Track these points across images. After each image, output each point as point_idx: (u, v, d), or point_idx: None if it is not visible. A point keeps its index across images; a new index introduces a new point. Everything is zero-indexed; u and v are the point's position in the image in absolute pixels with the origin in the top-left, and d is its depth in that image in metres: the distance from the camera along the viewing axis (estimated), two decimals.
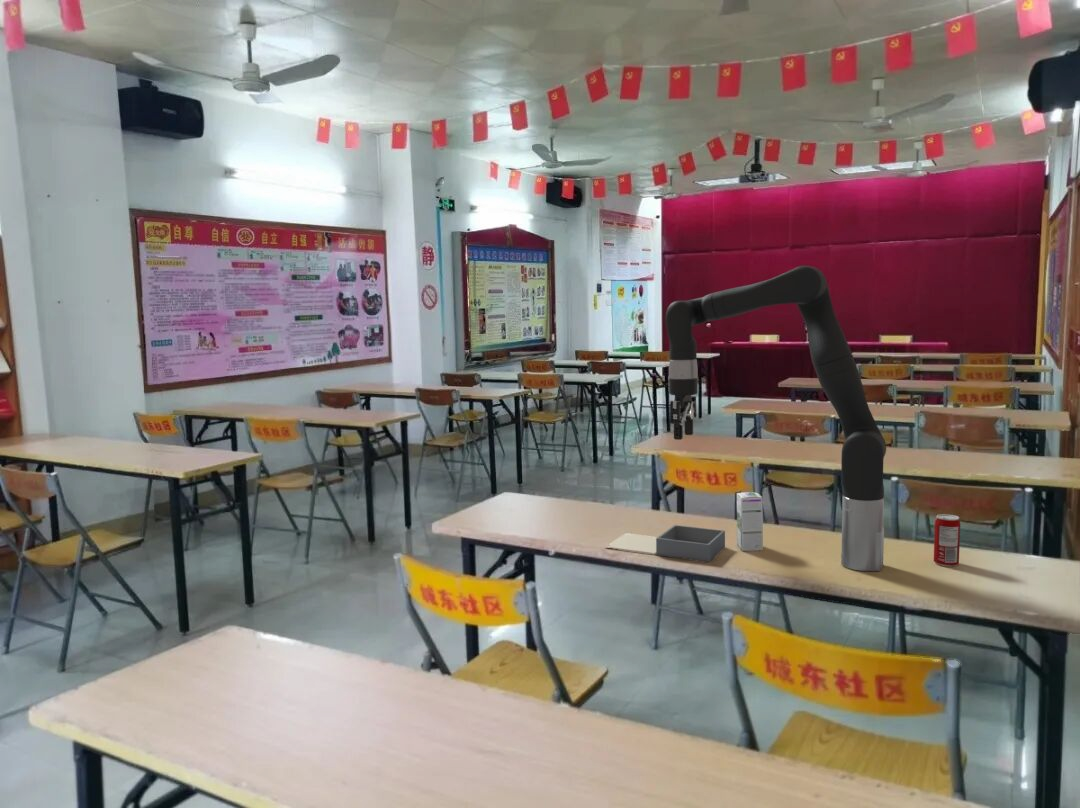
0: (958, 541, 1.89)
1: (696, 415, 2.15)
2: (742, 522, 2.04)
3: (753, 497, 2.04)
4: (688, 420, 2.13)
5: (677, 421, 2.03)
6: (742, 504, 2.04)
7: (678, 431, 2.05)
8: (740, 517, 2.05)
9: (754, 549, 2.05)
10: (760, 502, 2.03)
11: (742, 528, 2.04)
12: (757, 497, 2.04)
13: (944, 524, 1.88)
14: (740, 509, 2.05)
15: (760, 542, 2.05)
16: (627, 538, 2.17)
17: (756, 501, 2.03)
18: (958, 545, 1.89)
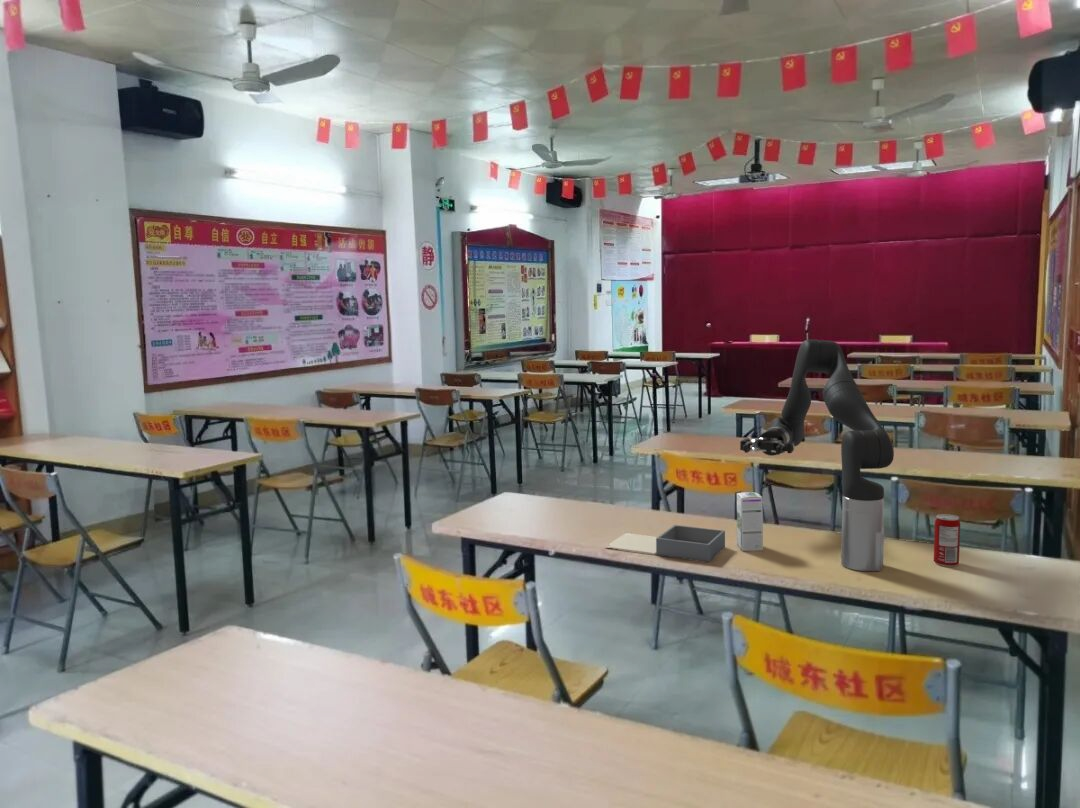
0: (958, 541, 1.89)
1: (790, 443, 2.17)
2: (742, 522, 2.04)
3: (753, 497, 2.04)
4: None
5: None
6: (742, 504, 2.04)
7: None
8: (740, 517, 2.05)
9: (754, 549, 2.05)
10: (760, 502, 2.03)
11: (742, 528, 2.04)
12: (757, 497, 2.04)
13: (944, 524, 1.88)
14: (740, 509, 2.05)
15: (760, 542, 2.05)
16: (627, 538, 2.17)
17: (756, 501, 2.03)
18: (958, 545, 1.89)
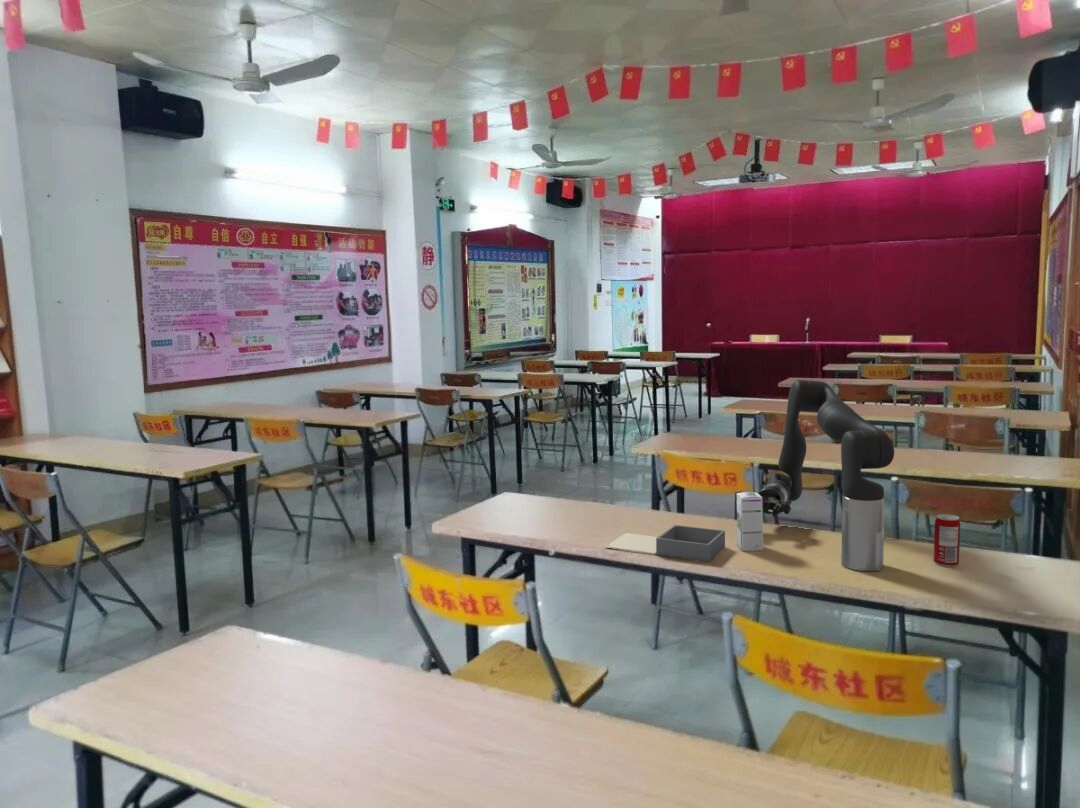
0: (958, 541, 1.89)
1: (787, 504, 2.15)
2: (742, 522, 2.04)
3: (753, 497, 2.04)
4: None
5: None
6: (742, 504, 2.04)
7: None
8: (740, 517, 2.05)
9: (754, 549, 2.05)
10: (760, 502, 2.03)
11: (742, 528, 2.04)
12: (757, 497, 2.04)
13: (944, 524, 1.88)
14: (740, 509, 2.05)
15: (760, 542, 2.05)
16: (627, 538, 2.17)
17: (756, 501, 2.03)
18: (958, 545, 1.89)
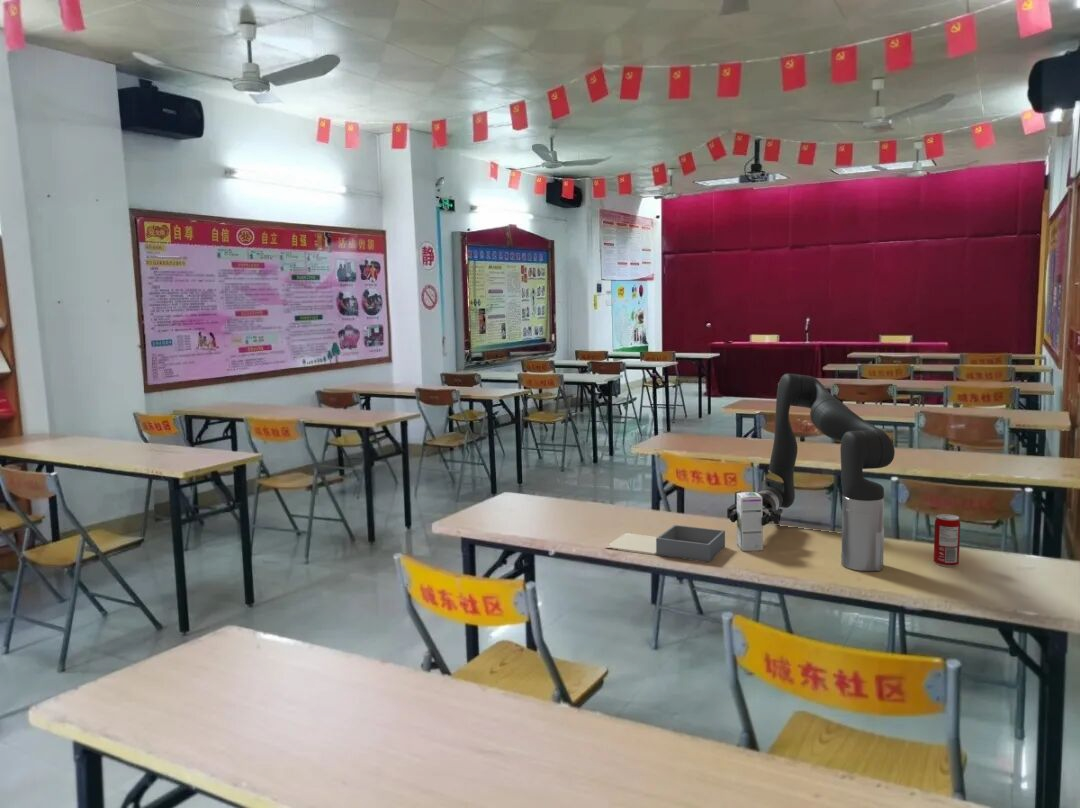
0: (958, 541, 1.89)
1: (777, 513, 2.06)
2: (742, 522, 2.04)
3: (753, 497, 2.04)
4: None
5: None
6: (742, 504, 2.04)
7: None
8: (740, 517, 2.05)
9: (754, 549, 2.05)
10: (760, 502, 2.03)
11: (742, 528, 2.04)
12: (757, 497, 2.04)
13: (944, 524, 1.88)
14: (740, 509, 2.05)
15: (760, 542, 2.05)
16: (627, 538, 2.17)
17: (756, 501, 2.03)
18: (958, 545, 1.89)
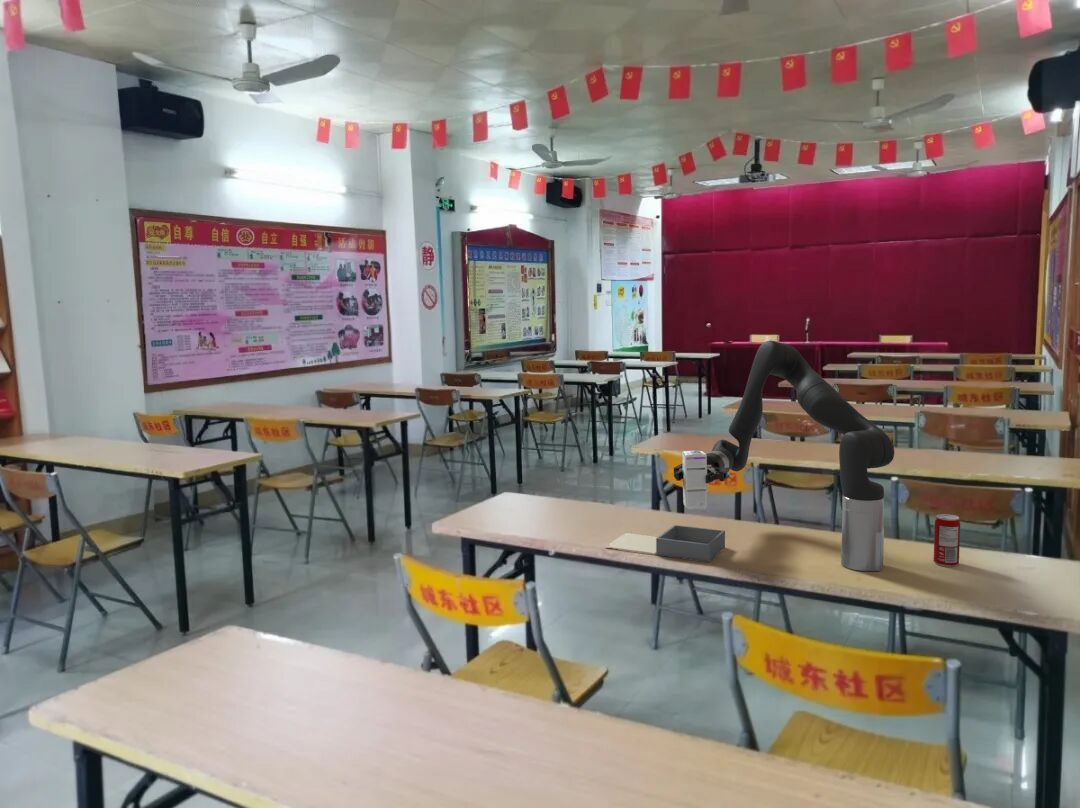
0: (958, 541, 1.89)
1: (722, 471, 2.04)
2: (686, 480, 2.02)
3: (697, 454, 2.01)
4: None
5: None
6: (686, 462, 2.01)
7: None
8: (684, 475, 2.03)
9: (699, 507, 2.03)
10: (704, 459, 2.01)
11: (686, 486, 2.02)
12: (701, 454, 2.01)
13: (944, 524, 1.88)
14: (684, 467, 2.03)
15: (705, 500, 2.03)
16: (627, 538, 2.17)
17: (700, 458, 2.01)
18: (958, 545, 1.89)
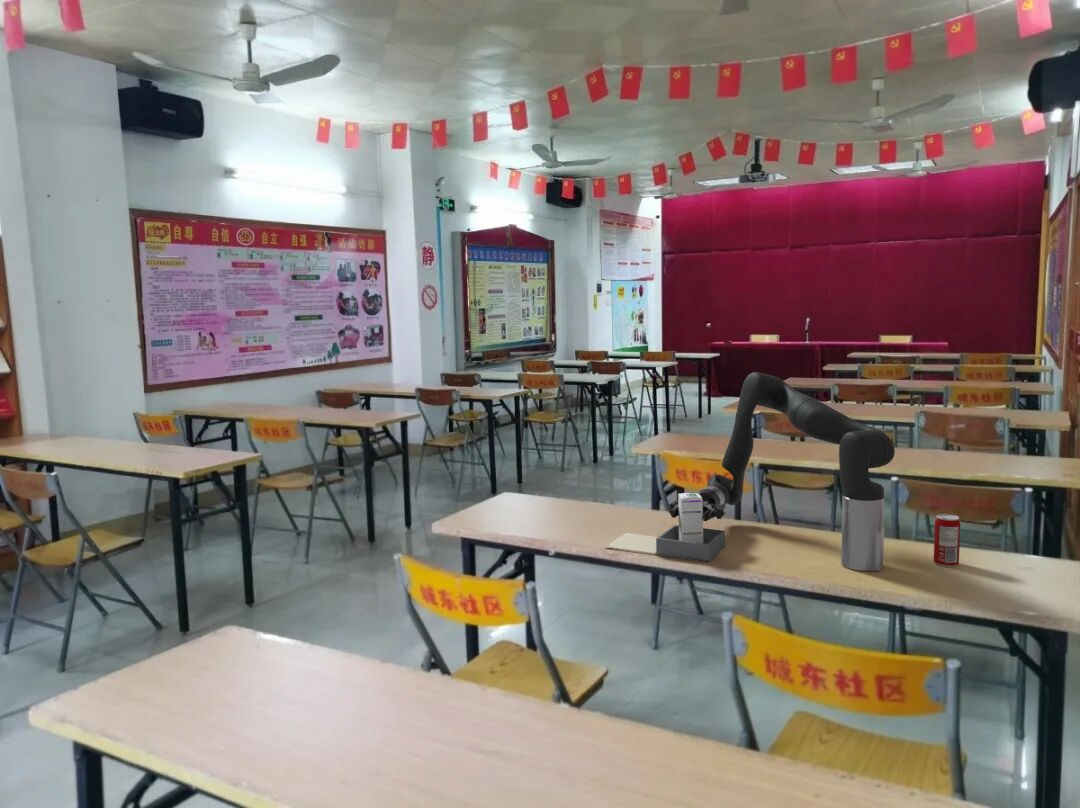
0: (958, 541, 1.89)
1: (719, 508, 2.04)
2: (682, 523, 2.03)
3: (693, 498, 2.02)
4: None
5: None
6: (682, 505, 2.02)
7: None
8: (680, 518, 2.04)
9: None
10: (700, 503, 2.02)
11: (682, 529, 2.03)
12: (697, 498, 2.02)
13: (944, 524, 1.88)
14: (680, 510, 2.03)
15: None
16: (627, 538, 2.17)
17: (696, 502, 2.02)
18: (958, 545, 1.89)
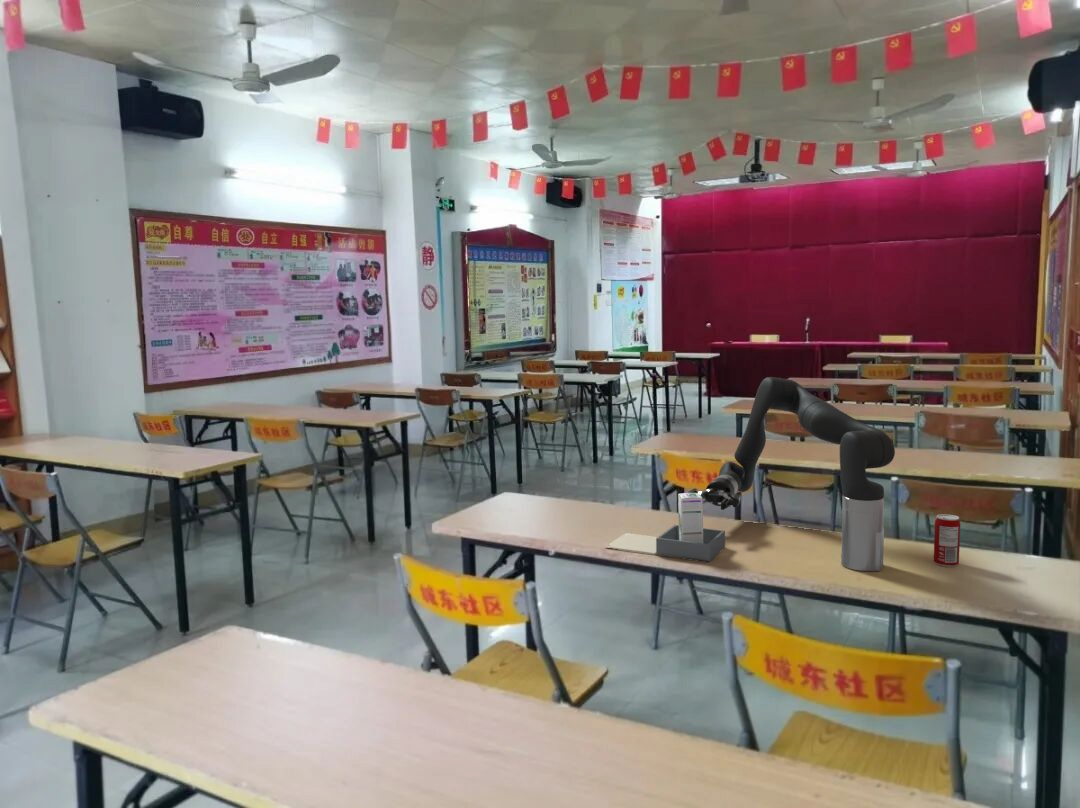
0: (958, 541, 1.89)
1: (735, 497, 2.16)
2: (682, 523, 2.03)
3: (693, 498, 2.02)
4: None
5: None
6: (682, 505, 2.02)
7: None
8: (680, 518, 2.04)
9: None
10: (700, 503, 2.02)
11: (682, 529, 2.03)
12: (697, 498, 2.02)
13: (944, 524, 1.88)
14: (680, 510, 2.03)
15: None
16: (627, 538, 2.17)
17: (696, 502, 2.02)
18: (958, 545, 1.89)
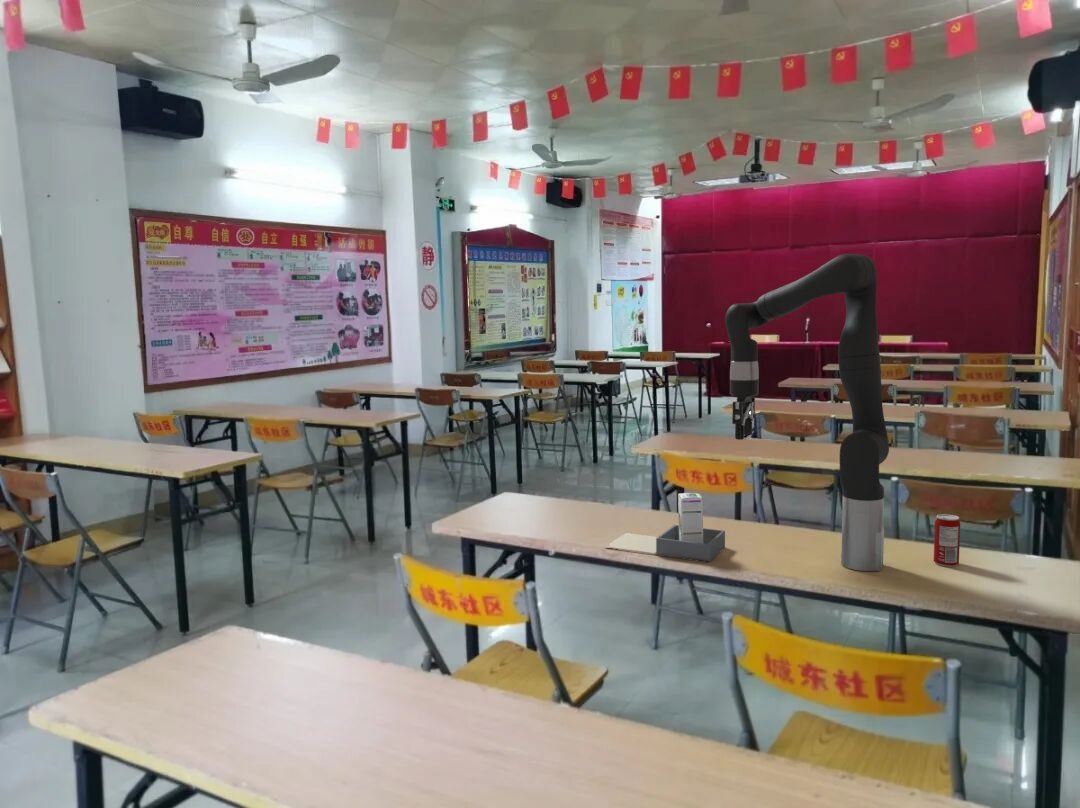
0: (958, 541, 1.89)
1: None
2: (682, 523, 2.03)
3: (693, 498, 2.02)
4: (748, 420, 2.17)
5: (740, 421, 2.07)
6: (682, 505, 2.02)
7: (740, 431, 2.09)
8: (680, 518, 2.04)
9: None
10: (700, 503, 2.02)
11: (682, 529, 2.03)
12: (697, 498, 2.02)
13: (944, 524, 1.88)
14: (680, 510, 2.03)
15: None
16: (627, 538, 2.17)
17: (696, 502, 2.02)
18: (958, 545, 1.89)
